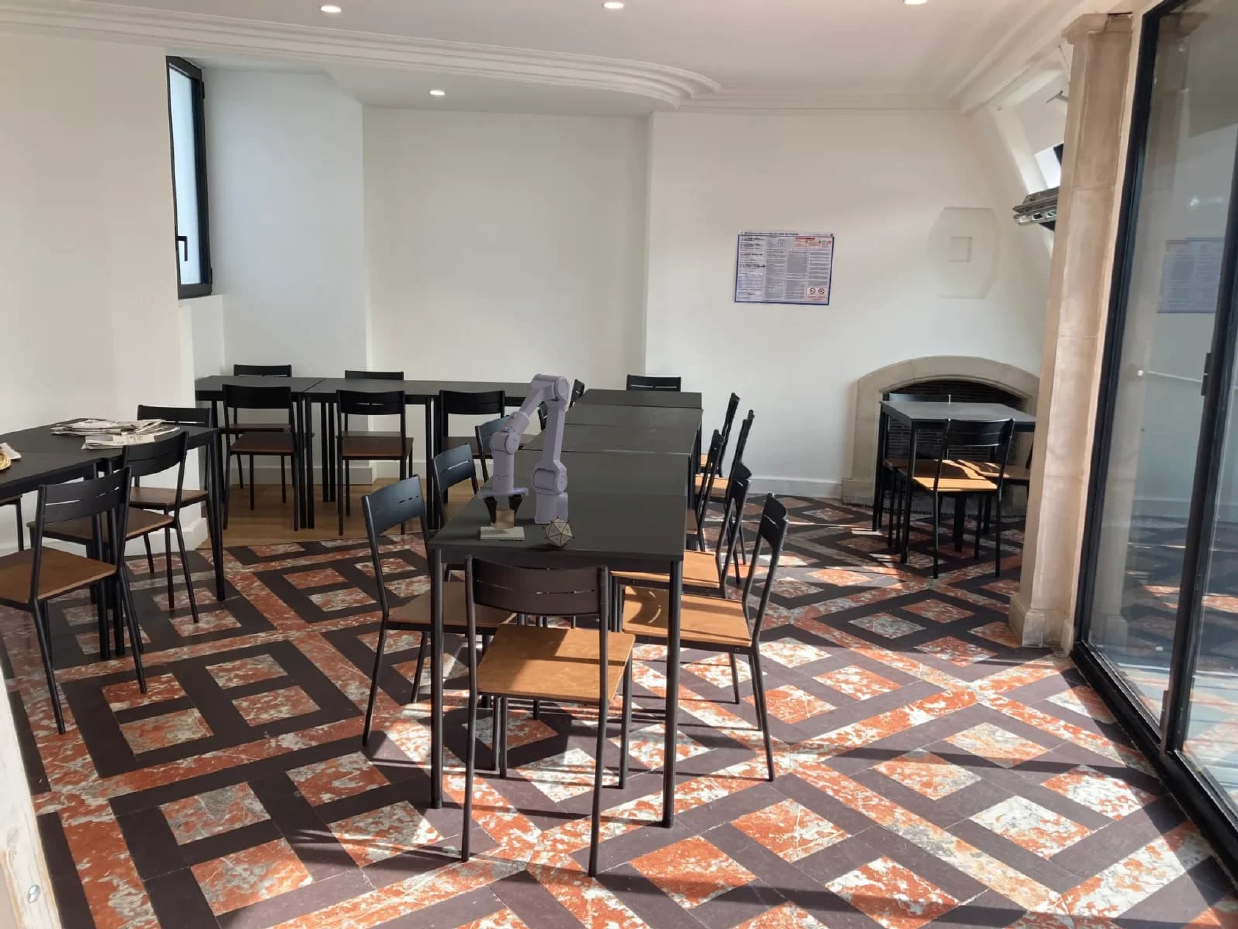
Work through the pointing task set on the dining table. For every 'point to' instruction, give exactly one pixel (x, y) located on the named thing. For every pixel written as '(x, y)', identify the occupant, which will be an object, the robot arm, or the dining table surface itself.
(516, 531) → the sage tile
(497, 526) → the maple block
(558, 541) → the game die
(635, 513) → the dining table surface
